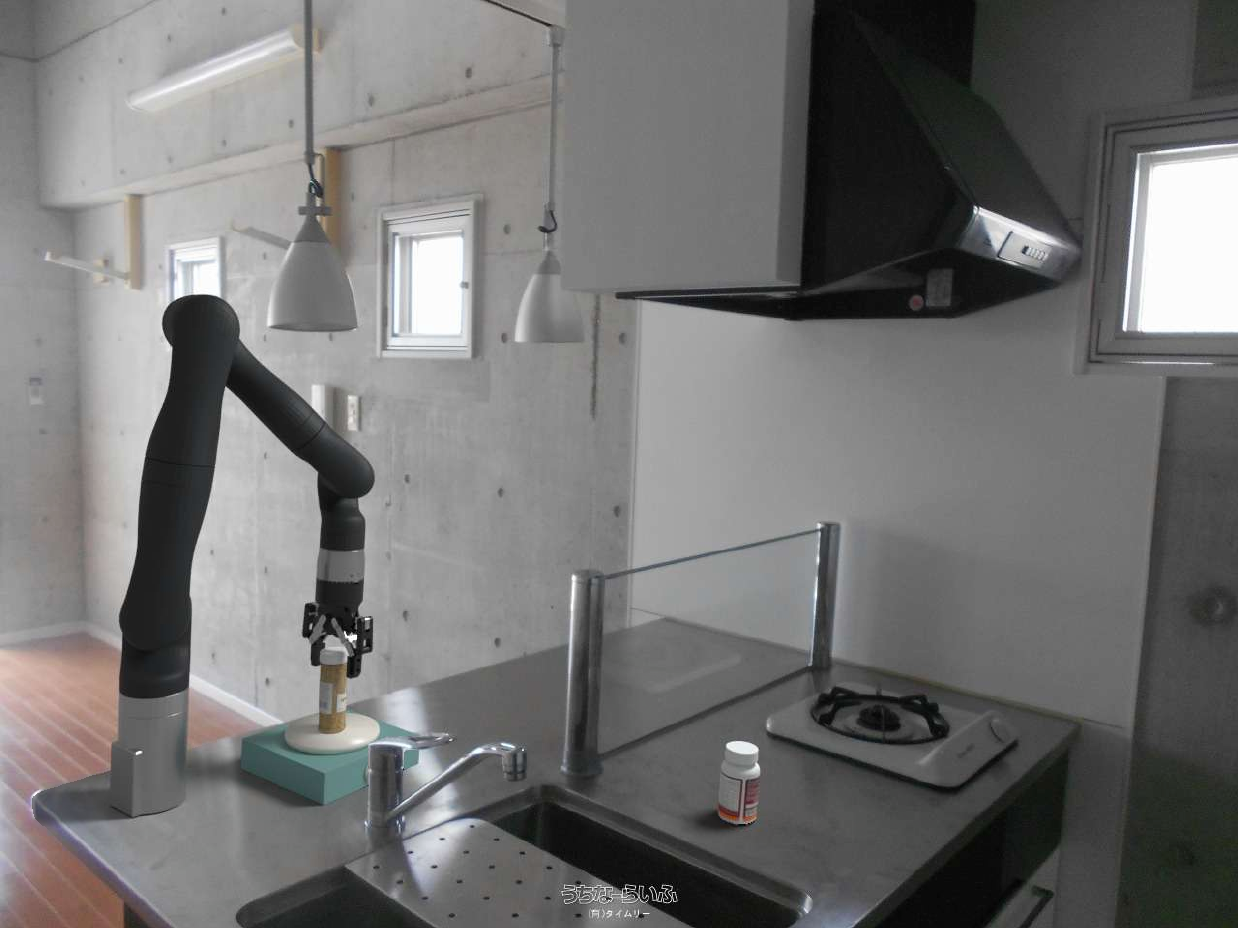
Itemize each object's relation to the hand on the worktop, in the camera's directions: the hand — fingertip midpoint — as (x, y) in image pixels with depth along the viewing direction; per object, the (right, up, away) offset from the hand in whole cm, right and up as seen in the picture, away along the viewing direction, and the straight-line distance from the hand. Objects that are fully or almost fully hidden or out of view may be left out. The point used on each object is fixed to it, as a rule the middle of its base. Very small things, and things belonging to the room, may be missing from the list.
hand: (335, 671), depth 149 cm
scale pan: (-1, -11, +1) cm, 11 cm away
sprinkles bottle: (-1, -10, +1) cm, 10 cm away
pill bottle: (+65, -22, -7) cm, 69 cm away
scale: (-1, -16, +1) cm, 16 cm away
